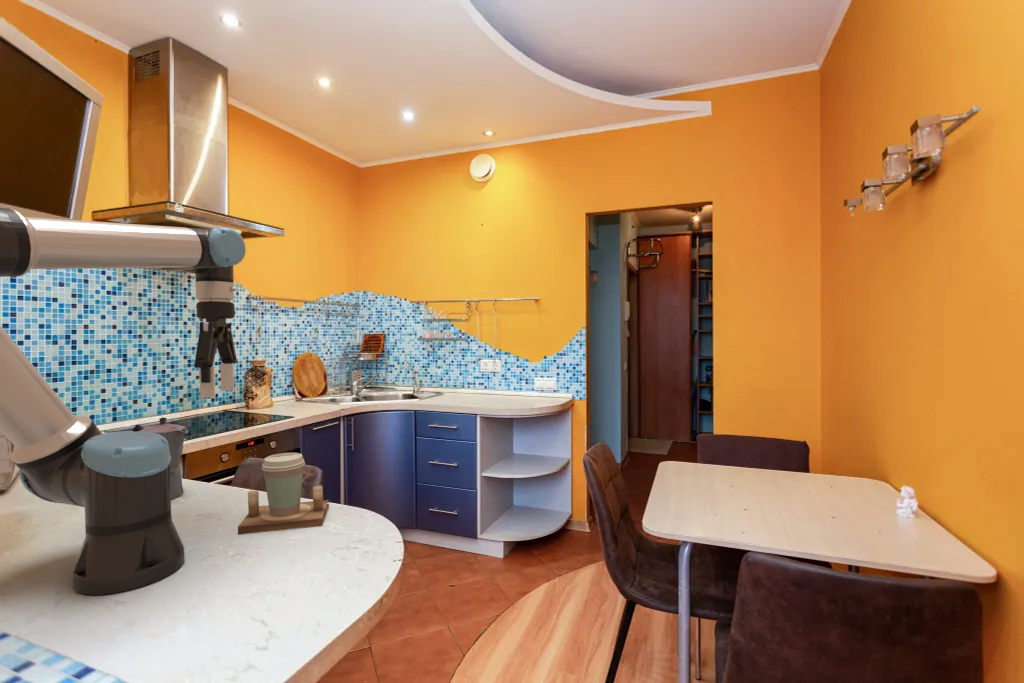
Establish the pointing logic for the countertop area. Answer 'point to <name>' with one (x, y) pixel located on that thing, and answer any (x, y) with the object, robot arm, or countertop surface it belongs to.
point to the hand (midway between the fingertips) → (218, 394)
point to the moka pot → (175, 442)
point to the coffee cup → (283, 482)
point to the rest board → (305, 517)
